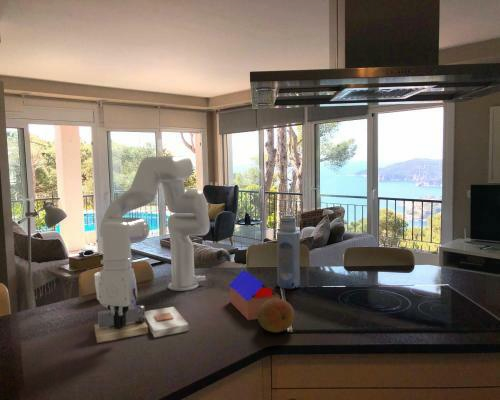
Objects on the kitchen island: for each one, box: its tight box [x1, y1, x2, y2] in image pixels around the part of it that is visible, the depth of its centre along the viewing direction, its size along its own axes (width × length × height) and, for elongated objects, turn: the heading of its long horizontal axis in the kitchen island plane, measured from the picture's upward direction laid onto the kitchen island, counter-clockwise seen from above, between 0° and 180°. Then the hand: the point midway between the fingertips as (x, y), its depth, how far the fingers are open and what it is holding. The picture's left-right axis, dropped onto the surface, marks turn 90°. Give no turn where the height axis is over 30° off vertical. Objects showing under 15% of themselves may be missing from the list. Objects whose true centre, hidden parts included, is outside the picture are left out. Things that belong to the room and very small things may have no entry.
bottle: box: [276, 214, 301, 289], centre depth 165 cm, size 10×10×30 cm
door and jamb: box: [93, 306, 190, 344], centre depth 123 cm, size 26×18×2 cm
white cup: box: [94, 271, 101, 301], centre depth 153 cm, size 8×8×10 cm
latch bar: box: [97, 304, 146, 328], centre depth 120 cm, size 14×3×5 cm, turn 116°
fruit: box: [257, 298, 295, 333], centre depth 119 cm, size 12×13×10 cm
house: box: [229, 269, 281, 321], centre depth 138 cm, size 12×20×12 cm, turn 20°
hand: (120, 327), depth 113 cm, fingers closed
